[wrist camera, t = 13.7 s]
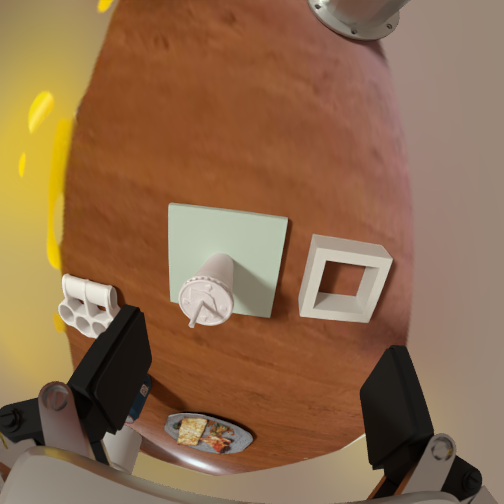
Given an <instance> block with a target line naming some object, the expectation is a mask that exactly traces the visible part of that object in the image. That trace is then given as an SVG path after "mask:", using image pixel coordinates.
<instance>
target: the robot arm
mask: <svg viewBox="0 0 504 504" xmlns="http://www.w3.org/2000/svg"><path fill="white" fill-rule="evenodd" d="M307 1H308V4H309V7H310V9H311V10H312V12H313V13H314V15H315V16H316V17H317V18H318V19H319V20H320V21H321V22H322V23H323V24H324V25H326V26H327V27H328V28H330V29H331V30H333V31H335V32H336V33H339V34H341V35H343V36H345V37H349V38H352V39H357V40H363V41H372V40H378V39H381V38H384V37H386V36H387V35H389V34H390V33H391V32H393V31H394V30H395V28H396V26H397V25H398V21H399V9H401V8H402V7H403V6H404V5H405V4H406V3H408V2H409V1H410V0H307ZM316 8H318V9H316ZM387 27H388V28H387ZM351 32H353V33H354V34H352V33H351ZM151 362H152V355H151V350H150V345H149V340H148V335H147V329H146V323H145V317H144V313H143V312H141V311H140V308H138V307H134V306H131V305H127V304H125V305H123V306H122V308H121V309H120V311H119V312H118V313H117V315H116V316H115V318H114V319H113V320H112V322H111V323H110V325H109V326H108V328H107V329H106V331H105V332H102V333H100V334H99V336H98V337H97V338H96V340H95V341H94V343H93V344H92V346H91V347H90V349H89V350H88V352H87V353H86V355H85V356H84V358H83V359H82V361H81V362H80V364H79V365H78V367H77V368H76V370H75V372H74V373H73V375H72V376H71V378H70V380H69V381H68V383H67V384H65V383H63V382H59V381H54V382H50V383H47V384H46V385H45V386H43V388H42V389H41V390H40V393H39V395H38V398H34V399H30V400H26V401H22V402H17V403H13V404H9V405H6V406H3V407H2V408H1V409H0V504H263V503H251V502H242V501H235V500H227V499H221V498H215V497H210V496H204V495H200V494H195V493H191V492H186V491H182V490H178V489H174V488H171V487H167V486H164V485H161V484H157V483H154V482H151V481H148V480H145V479H142V478H139V477H136V476H133V475H131V474H128V473H125V472H122V471H120V470H117V469H115V468H114V467H113V465H112V462H111V460H110V457H109V455H108V452H107V449H106V447H105V444H104V441H103V438H104V436H105V434H106V432H108V433H110V434H113V435H116V432H117V430H118V431H120V430H121V429H122V428H123V426H124V423H125V421H126V419H127V416H128V414H129V412H130V410H131V407H132V405H133V403H134V400H135V398H136V396H137V394H138V392H139V389H140V387H141V385H142V383H143V381H144V378H145V376H146V374H147V372H148V370H149V368H150V365H151ZM360 400H361V406H362V413H363V419H364V426H365V434H366V441H367V450H368V459H369V463H370V464H371V465H372V468H373V470H377V469H384V476H383V477H382V479H381V480H380V482H379V483H378V485H377V486H376V487H375V489H374V490H373V492H372V493H371V494H370V496H369V497H368V498H367V500H364V501H356V502H347V503H337V504H498V503H497V502H496V500H495V499H494V498H493V496H492V495H491V494H490V492H489V491H488V490H487V488H486V487H485V486H482V487H481V485H482V476H481V473H480V471H479V470H478V469H477V468H475V467H473V466H472V465H470V464H469V463H467V462H466V461H464V460H463V459H461V458H460V457H458V456H457V455H456V445H455V442H454V440H453V439H452V438H451V437H450V436H449V435H447V434H444V433H440V434H436V435H434V429H433V425H432V422H431V418H430V415H429V411H428V408H427V405H426V401H425V398H424V395H423V392H422V389H421V386H420V383H419V380H418V377H417V374H416V372H415V369H414V366H413V363H412V360H411V358H410V355H409V352H408V350H407V348H406V346H397V345H392V346H390V348H389V349H386V350H385V352H384V353H383V355H382V357H381V358H380V360H379V362H378V363H377V365H376V366H375V368H374V369H373V371H372V372H371V374H370V375H369V377H368V378H367V380H366V381H365V383H364V384H363V386H362V387H361V389H360Z"/></svg>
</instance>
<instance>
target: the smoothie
mask: <svg viewBox="0 0 504 504" xmlns="http://www.w3.org/2000/svg"><path fill="white" fill-rule="evenodd" d="M233 272H234V263H233V260H232V259H231V257H230V256H228V255H227V254H225V253H215V254H213V255H212V256H211V257H210V258H209V259H208V260H207V261H206V262H205V264H204V265H203V266H202V267H201V268H200V269H199V271H198V272H197V273H196V274H195V275H194V276H193V277H192V278H190V279H188V280H187V281H186V282H185V283H184V284H183V286H182V288H181V290H180V292H179V297H178V300H179V305H180V307H181V309H182V311H183V312H184V314H185V315H186V316H187V317H189V318H190V319H191V320H190V323H189V327H190V328H193V327H194V325H195V323H196V322H197V323H199V324H203V325H218V324H221V323H223V322H225V321H226V320H227V319H228V318H229V317H230V315H231V313H232V311H233V308H234V297H233V294H232V288H233Z"/></svg>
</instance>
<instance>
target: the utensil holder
mask: <svg viewBox="0 0 504 504" xmlns="http://www.w3.org/2000/svg"><path fill="white" fill-rule="evenodd" d="M103 441H104V444H105V447H106V449H107V452H108V455H109V457H110V460H111V462H112V465H113V467H114V468H115V469H117V470H120V471H122V472H125V473H128V474H132V471H133V468H134V465H135V461H136V458H137V455H138V452H139V449H140V445H141V442H142V437H141V435H140V434H139V433H137V432H136V431H135V430H133V429H131V428H130V427H128V426H126V425H124V426H123V428H122V429H121V430H120V431H118V430H117V432H116V435H113V434H110V433H108V432H106V434H105V436H104V438H103Z"/></svg>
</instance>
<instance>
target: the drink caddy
mask: <svg viewBox="0 0 504 504" xmlns="http://www.w3.org/2000/svg"><path fill="white" fill-rule="evenodd" d="M326 260H328V261H335V262H342V263H349V264H356V265H363V266H366V268H365V271H364V274H363V278H362V281H361V283H360V286H359V289H358V292H357V295H356V296H347V295H338V294H330V293H322V292H318V289H319V285H320V282H321V278H322V274H323V270H324V266H325V263H326ZM392 260H393V259H392V257H391V256H390V255H389V254H388V252H387V251H386V250H385V248H384V247H383V246H382V245H378V244H372V243H366V242H360V241H354V240H348V239H342V238H336V237H330V236H323V235H317V234H313V236H312V240H311V245H310V250H309V254H308V259H307V263H306V268H305V272H304V276H303V281H302V285H301V289H300V293H299V297H298V300H299V312H300V316H303V317H312V318H321V319H331V320H341V321H352V322H364V323H369V320H370V318H371V316H372V313H373V311H374V308H375V306H376V304H377V301H378V299H379V296H380V293H381V291H382V288H383V286H384V283H385V280H386V277H387V275H388V272H389V269H390V266H391V263H392Z"/></svg>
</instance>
